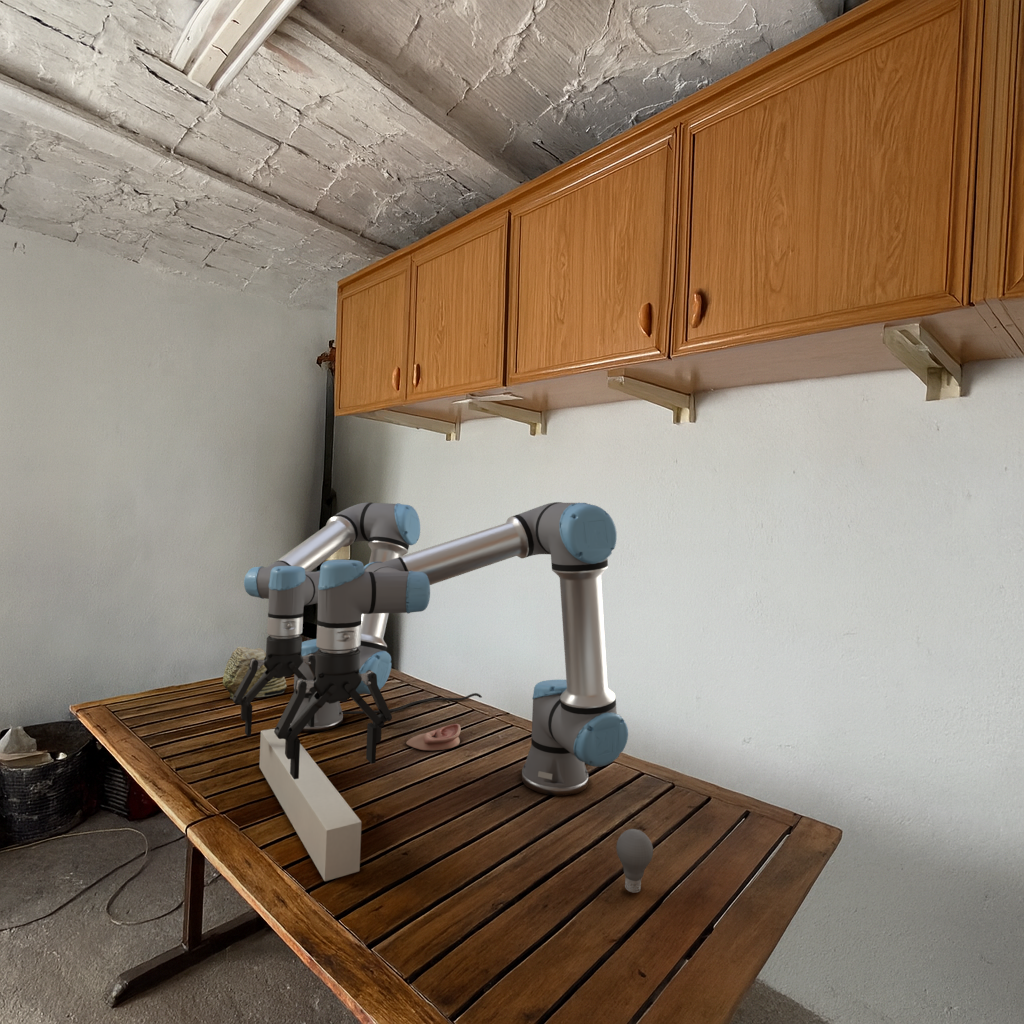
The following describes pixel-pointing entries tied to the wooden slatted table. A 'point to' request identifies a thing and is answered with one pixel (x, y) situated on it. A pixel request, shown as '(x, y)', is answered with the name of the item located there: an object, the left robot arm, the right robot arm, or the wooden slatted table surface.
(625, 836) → the light bulb
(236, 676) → the fossil
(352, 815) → the post
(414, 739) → the anatomical model
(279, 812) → the wooden slatted table surface
